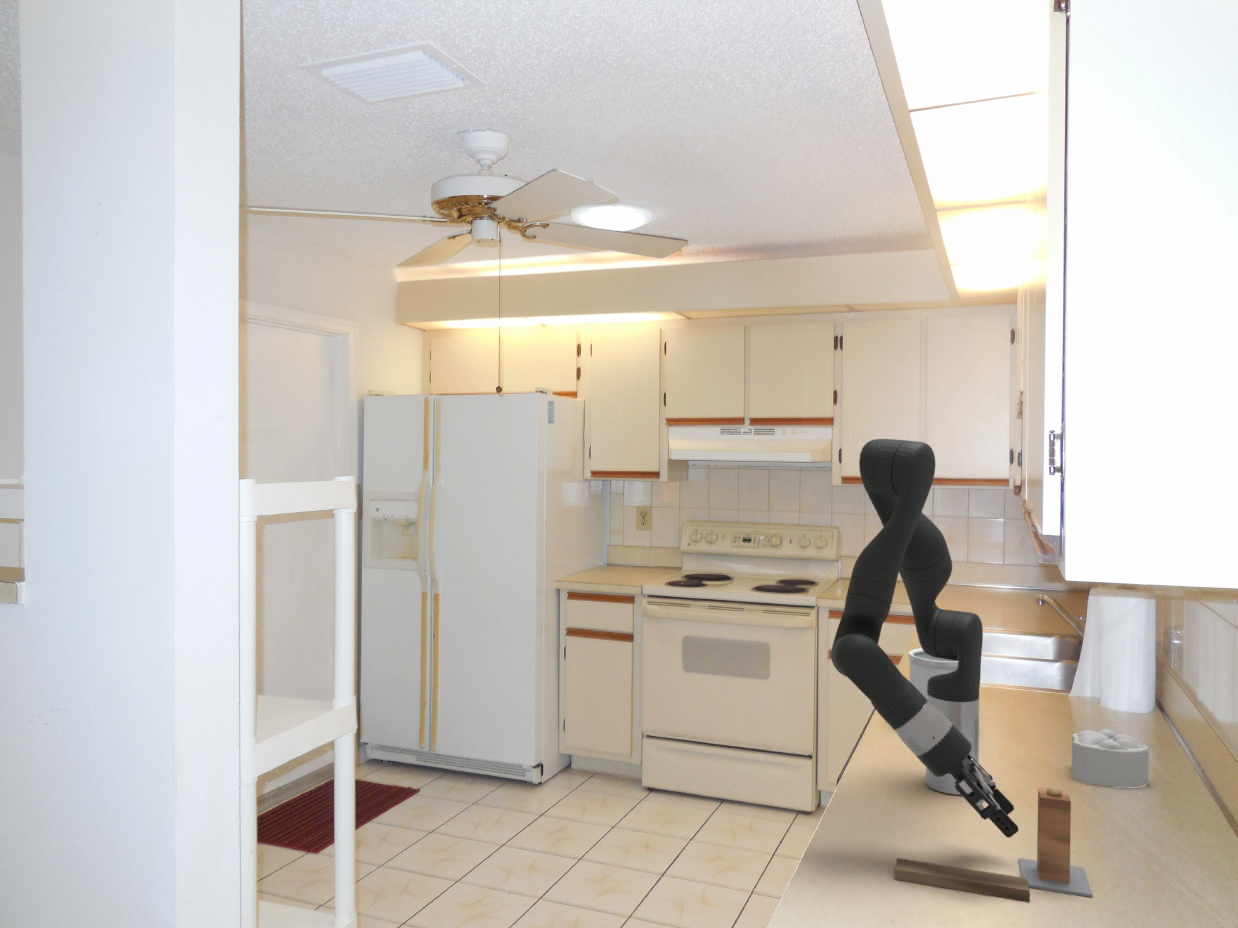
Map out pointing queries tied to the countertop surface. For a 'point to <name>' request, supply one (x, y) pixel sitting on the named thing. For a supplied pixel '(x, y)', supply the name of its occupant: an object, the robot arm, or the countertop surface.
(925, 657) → the utensil holder
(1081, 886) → the slate mat
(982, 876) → the walnut board
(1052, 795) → the post
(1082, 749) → the lumpy-topped squat cylinder
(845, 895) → the countertop surface
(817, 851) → the countertop surface
